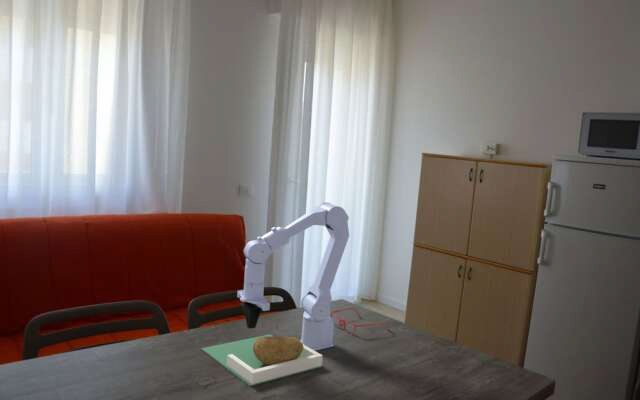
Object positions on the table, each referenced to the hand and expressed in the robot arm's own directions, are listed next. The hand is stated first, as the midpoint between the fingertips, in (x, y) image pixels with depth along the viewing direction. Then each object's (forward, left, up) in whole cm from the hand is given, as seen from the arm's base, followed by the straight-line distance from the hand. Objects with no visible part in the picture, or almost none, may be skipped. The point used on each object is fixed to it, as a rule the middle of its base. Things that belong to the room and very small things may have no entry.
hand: (251, 327), depth 155 cm
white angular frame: (0, +13, -7) cm, 15 cm away
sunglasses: (-44, 0, -8) cm, 44 cm away
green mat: (0, +6, -7) cm, 9 cm away
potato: (-1, +13, -7) cm, 15 cm away
